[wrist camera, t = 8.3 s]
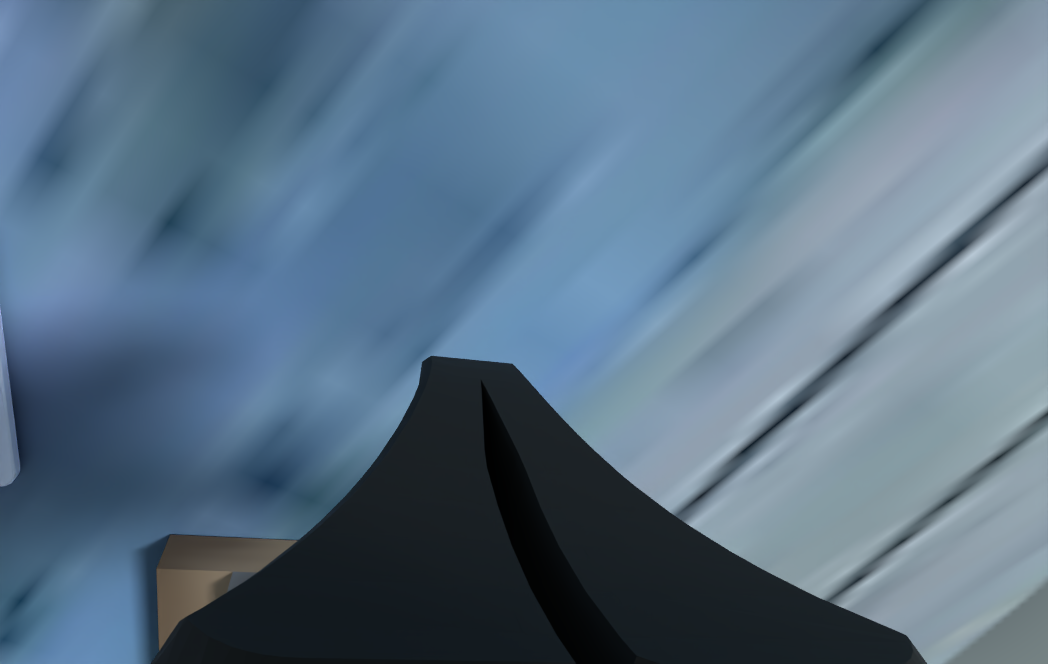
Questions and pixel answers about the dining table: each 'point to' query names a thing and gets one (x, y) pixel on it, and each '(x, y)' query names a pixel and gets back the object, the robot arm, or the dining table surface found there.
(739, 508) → the dining table surface
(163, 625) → the rail board
